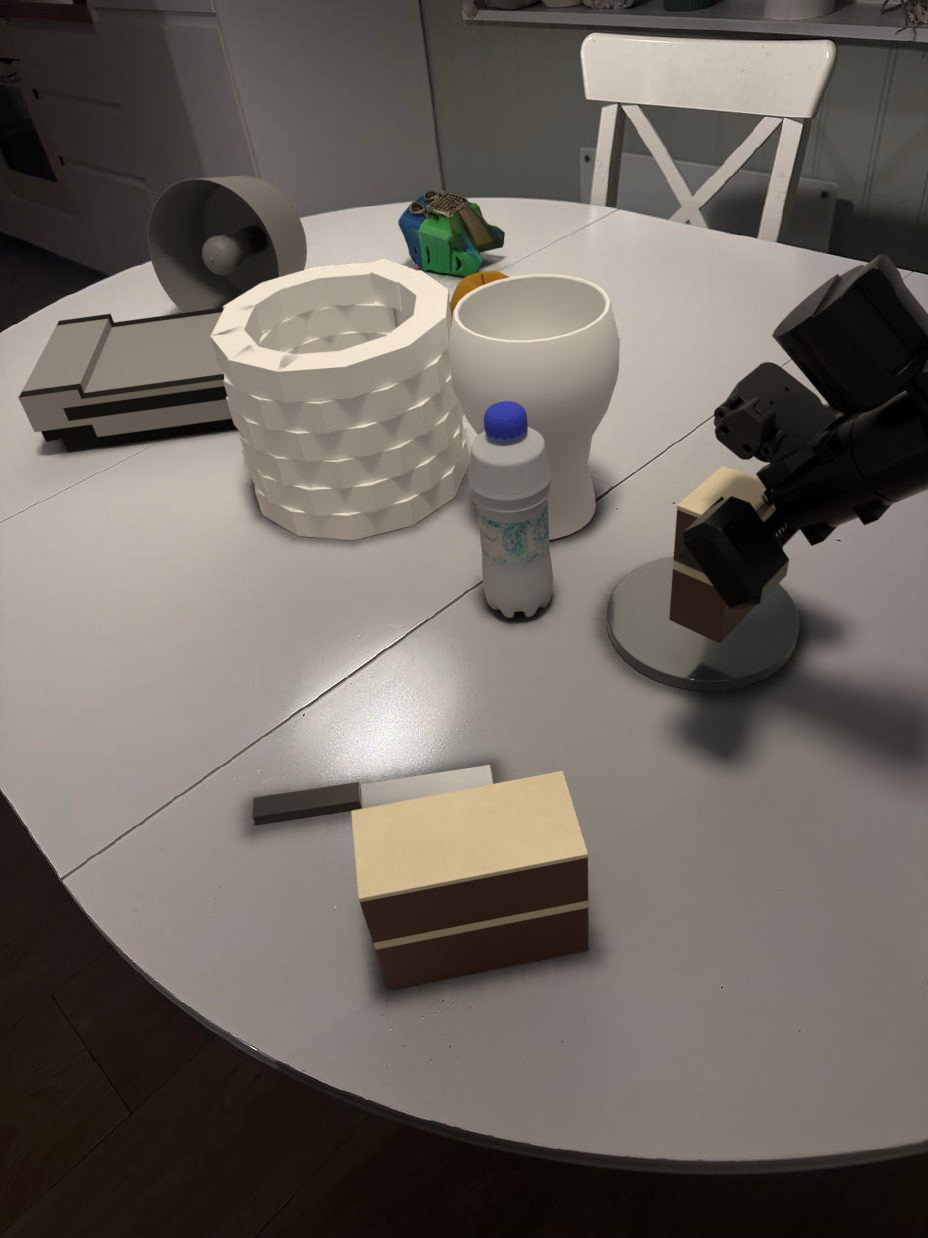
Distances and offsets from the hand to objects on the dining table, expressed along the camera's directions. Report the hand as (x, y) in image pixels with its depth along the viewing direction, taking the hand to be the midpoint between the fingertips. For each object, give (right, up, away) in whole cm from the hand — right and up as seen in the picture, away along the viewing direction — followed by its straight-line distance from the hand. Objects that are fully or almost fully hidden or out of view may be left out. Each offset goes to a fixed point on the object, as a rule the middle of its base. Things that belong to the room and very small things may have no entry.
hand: (706, 537), depth 68 cm
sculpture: (-19, +48, +74) cm, 91 cm away
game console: (-54, +22, +51) cm, 77 cm away
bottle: (-13, -5, +16) cm, 21 cm away
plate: (+2, -6, +11) cm, 13 cm away
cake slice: (+2, -5, +4) cm, 7 cm away
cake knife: (-25, -20, +1) cm, 32 cm away
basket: (-29, +10, +34) cm, 46 cm away
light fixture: (-50, +44, +74) cm, 100 cm away
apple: (-14, +27, +50) cm, 59 cm away
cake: (-17, -26, -8) cm, 32 cm away
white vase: (-10, +5, +26) cm, 28 cm away
